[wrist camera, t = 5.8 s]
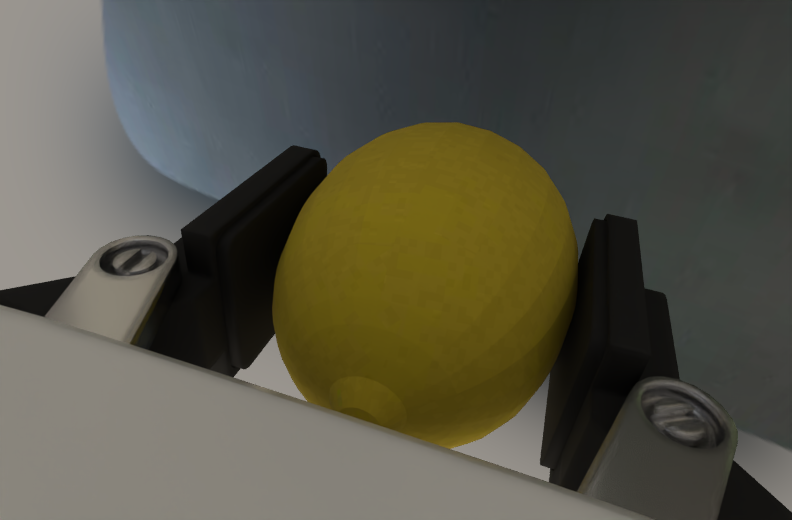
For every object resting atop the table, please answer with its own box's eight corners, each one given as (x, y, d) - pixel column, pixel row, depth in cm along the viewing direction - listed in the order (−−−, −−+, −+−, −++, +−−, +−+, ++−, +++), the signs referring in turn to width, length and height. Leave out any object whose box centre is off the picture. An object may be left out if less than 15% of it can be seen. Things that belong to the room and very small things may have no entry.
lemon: (462, 307, 16) (368, 573, 9) (331, 169, 15) (126, 367, 8) (633, 208, 13) (663, 509, 6) (483, 23, 12) (337, 164, 5)
